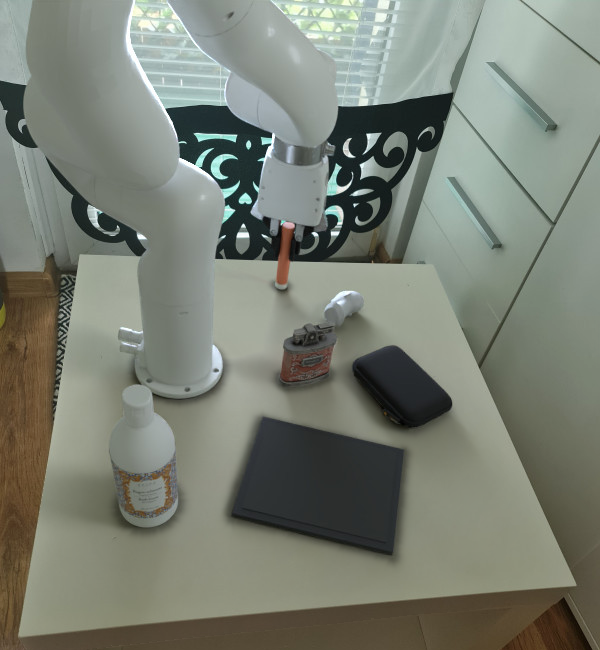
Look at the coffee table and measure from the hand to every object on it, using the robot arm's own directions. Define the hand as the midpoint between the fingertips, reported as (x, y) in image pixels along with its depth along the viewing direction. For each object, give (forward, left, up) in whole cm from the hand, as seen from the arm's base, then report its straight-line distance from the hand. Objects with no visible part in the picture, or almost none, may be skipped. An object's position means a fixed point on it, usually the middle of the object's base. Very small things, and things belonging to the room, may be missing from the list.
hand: (284, 254), depth 101 cm
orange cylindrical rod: (0, 0, -7) cm, 7 cm away
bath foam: (-6, -47, -7) cm, 48 cm away
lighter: (+8, -20, -7) cm, 23 cm away
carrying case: (+22, -19, -7) cm, 30 cm away
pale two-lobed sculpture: (+11, -4, -7) cm, 14 cm away
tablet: (+14, -38, -7) cm, 41 cm away
